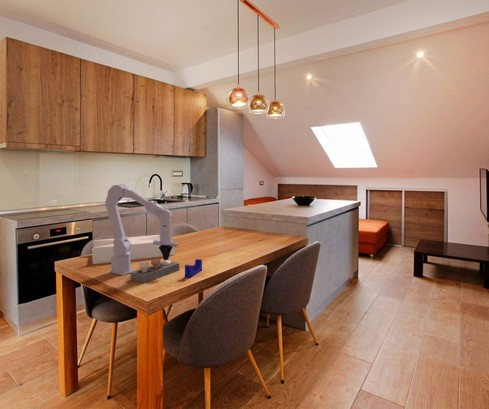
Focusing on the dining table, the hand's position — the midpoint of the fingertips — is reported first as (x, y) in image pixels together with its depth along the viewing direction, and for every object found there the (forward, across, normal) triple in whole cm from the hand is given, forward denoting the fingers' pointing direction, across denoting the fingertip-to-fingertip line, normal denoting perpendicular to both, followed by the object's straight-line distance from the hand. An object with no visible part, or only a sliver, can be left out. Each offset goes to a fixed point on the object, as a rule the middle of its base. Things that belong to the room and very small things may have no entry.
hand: (166, 259), depth 160 cm
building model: (+7, -38, +17) cm, 42 cm away
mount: (+6, -1, -7) cm, 9 cm away
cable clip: (+6, +15, +2) cm, 16 cm away
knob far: (+6, 0, 0) cm, 6 cm away
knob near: (+3, -2, -14) cm, 14 cm away
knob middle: (+3, -1, -7) cm, 8 cm away
